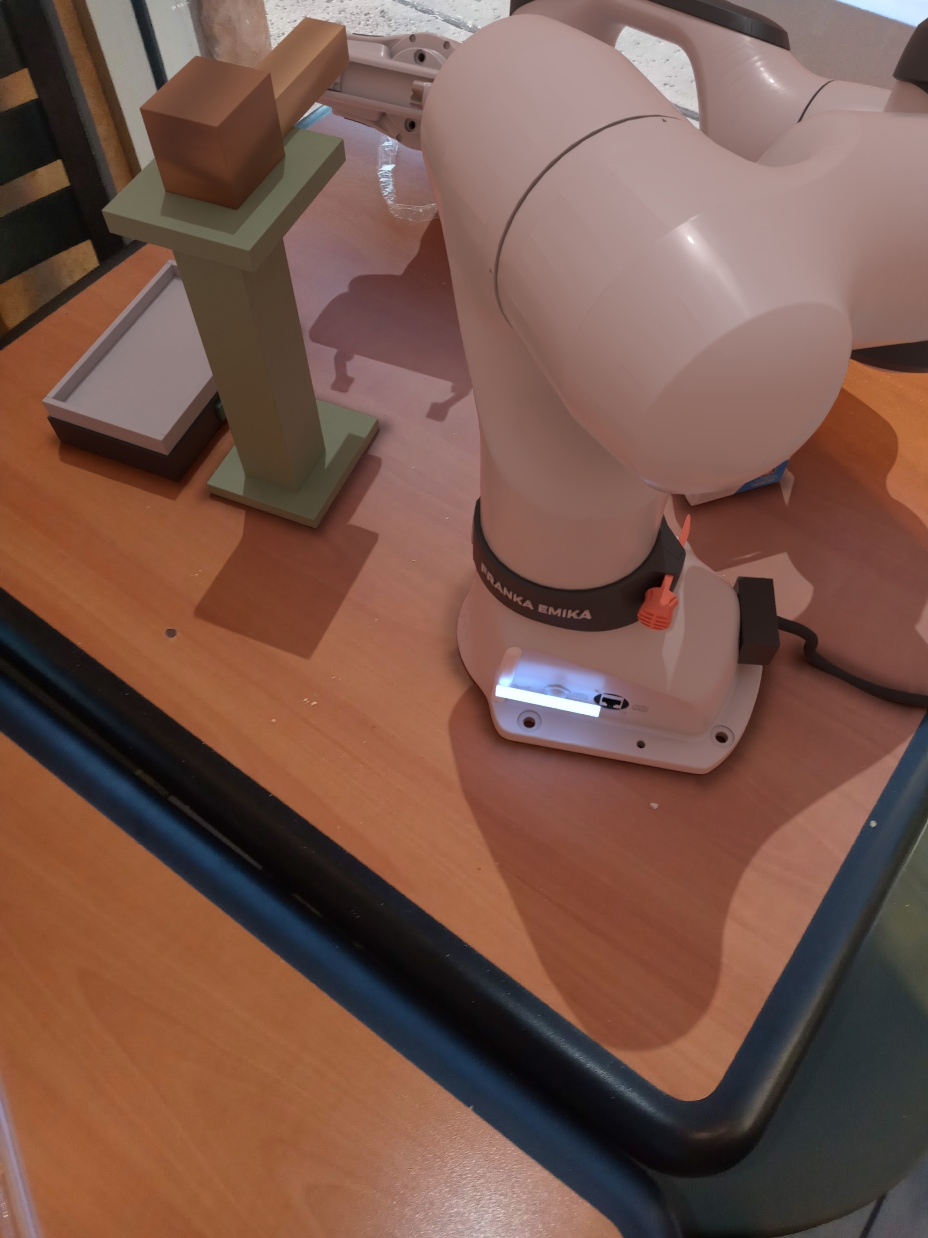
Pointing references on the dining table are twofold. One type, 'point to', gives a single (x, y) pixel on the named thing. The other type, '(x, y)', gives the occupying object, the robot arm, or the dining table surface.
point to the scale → (142, 386)
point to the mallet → (239, 113)
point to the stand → (256, 328)
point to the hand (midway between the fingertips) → (361, 81)
